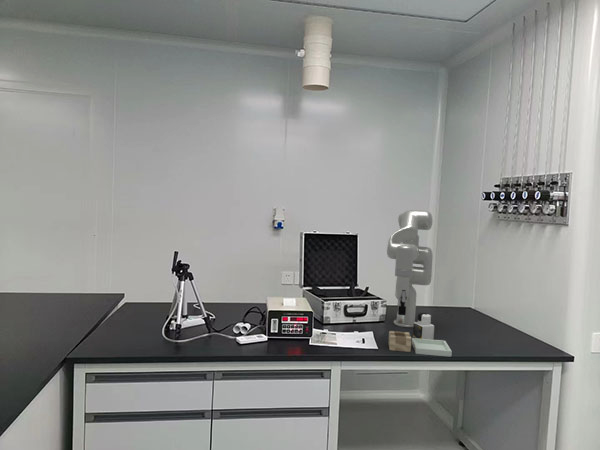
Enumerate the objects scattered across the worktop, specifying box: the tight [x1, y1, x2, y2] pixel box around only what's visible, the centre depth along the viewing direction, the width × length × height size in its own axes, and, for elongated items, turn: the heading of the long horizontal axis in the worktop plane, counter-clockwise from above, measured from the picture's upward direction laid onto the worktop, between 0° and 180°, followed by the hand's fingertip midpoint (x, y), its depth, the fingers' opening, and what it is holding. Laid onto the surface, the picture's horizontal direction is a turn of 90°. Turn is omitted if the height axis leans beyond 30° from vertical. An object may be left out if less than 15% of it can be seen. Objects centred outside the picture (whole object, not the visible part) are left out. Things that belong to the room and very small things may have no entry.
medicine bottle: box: [412, 312, 435, 340], centre depth 220 cm, size 7×7×12 cm
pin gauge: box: [396, 298, 405, 324], centre depth 203 cm, size 3×3×12 cm
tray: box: [411, 337, 453, 358], centre depth 203 cm, size 15×15×2 cm
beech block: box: [388, 330, 412, 353], centre depth 204 cm, size 9×9×6 cm
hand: (401, 313), depth 203 cm, fingers closed on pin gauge, 3 cm apart
